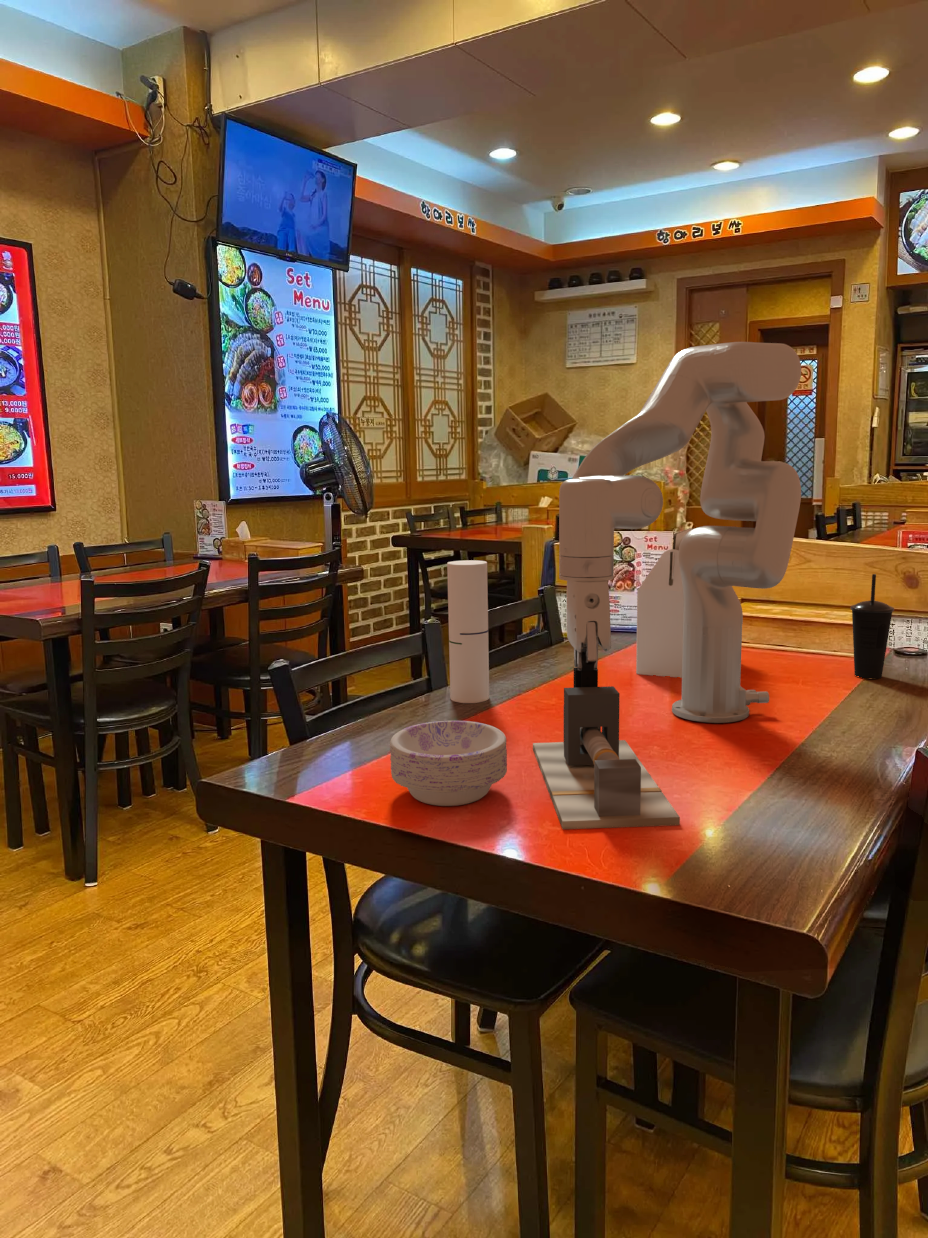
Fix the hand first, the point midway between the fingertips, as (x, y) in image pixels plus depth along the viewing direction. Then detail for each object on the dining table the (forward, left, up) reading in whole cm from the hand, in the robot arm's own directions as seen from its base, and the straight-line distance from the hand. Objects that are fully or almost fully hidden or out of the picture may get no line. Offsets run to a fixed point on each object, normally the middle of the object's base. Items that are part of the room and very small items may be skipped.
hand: (585, 695), depth 130 cm
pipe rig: (0, +9, -10) cm, 13 cm away
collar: (0, +4, -8) cm, 9 cm away
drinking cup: (-63, -44, -10) cm, 78 cm away
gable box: (-30, -58, -10) cm, 66 cm away
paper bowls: (+20, +11, -10) cm, 25 cm away
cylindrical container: (+15, -37, -10) cm, 41 cm away
